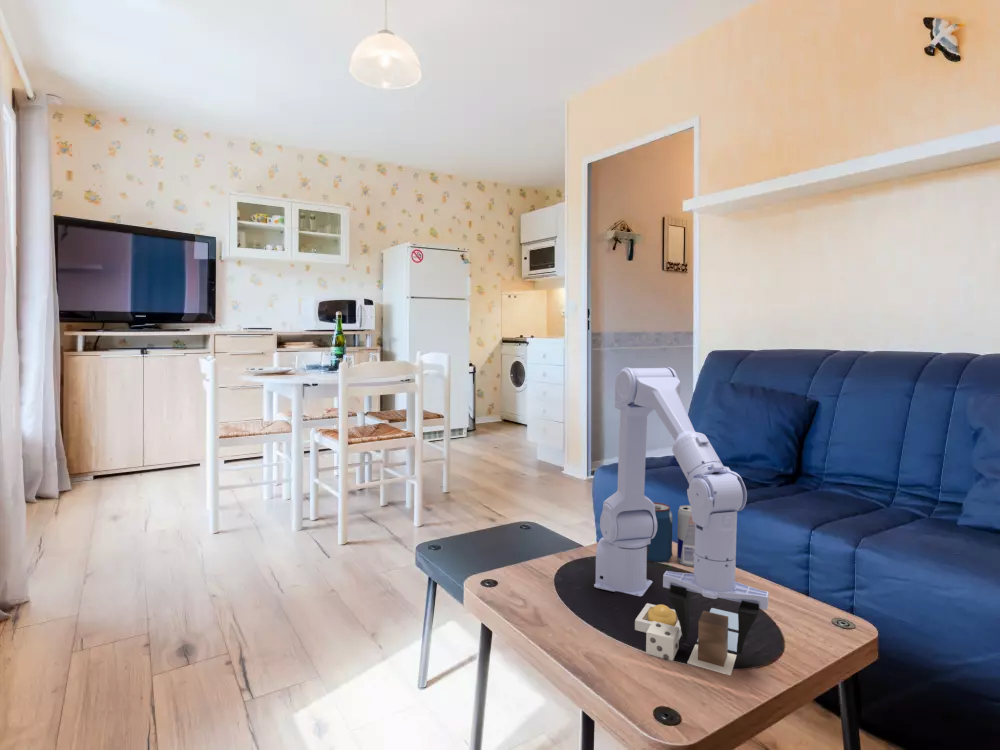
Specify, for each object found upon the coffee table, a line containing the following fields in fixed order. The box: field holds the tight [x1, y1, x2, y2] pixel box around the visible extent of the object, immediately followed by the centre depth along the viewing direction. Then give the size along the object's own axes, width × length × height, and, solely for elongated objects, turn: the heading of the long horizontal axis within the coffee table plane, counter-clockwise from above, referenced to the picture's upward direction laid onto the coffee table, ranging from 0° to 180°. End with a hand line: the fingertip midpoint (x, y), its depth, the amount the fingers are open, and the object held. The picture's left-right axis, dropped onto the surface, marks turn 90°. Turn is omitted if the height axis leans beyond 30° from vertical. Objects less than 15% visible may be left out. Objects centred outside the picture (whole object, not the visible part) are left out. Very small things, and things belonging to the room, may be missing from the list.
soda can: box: [647, 501, 674, 563], centre depth 123 cm, size 7×7×12 cm
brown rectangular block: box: [697, 610, 729, 667], centre depth 83 cm, size 4×4×6 cm
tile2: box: [686, 643, 737, 677], centre depth 83 cm, size 6×6×1 cm
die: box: [645, 621, 680, 662], centre depth 85 cm, size 4×4×4 cm
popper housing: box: [634, 602, 682, 640], centre depth 93 cm, size 7×7×2 cm
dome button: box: [647, 604, 677, 626], centre depth 92 cm, size 4×4×4 cm
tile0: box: [709, 607, 738, 631], centre depth 95 cm, size 6×6×1 cm
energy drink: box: [676, 504, 695, 568], centre depth 121 cm, size 5×5×12 cm
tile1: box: [696, 630, 738, 653], centre depth 89 cm, size 6×6×1 cm
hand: (712, 643), depth 83 cm, fingers open, 7 cm apart
